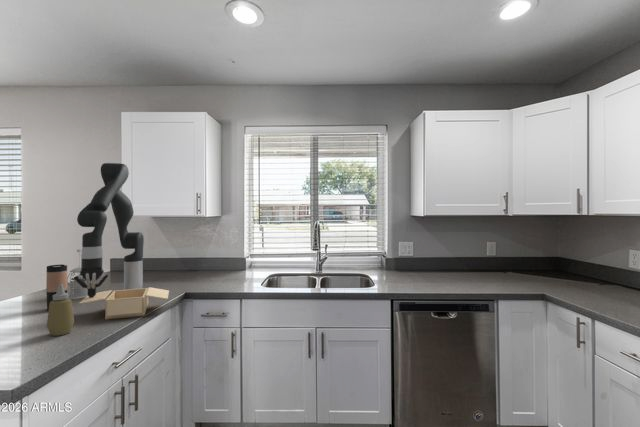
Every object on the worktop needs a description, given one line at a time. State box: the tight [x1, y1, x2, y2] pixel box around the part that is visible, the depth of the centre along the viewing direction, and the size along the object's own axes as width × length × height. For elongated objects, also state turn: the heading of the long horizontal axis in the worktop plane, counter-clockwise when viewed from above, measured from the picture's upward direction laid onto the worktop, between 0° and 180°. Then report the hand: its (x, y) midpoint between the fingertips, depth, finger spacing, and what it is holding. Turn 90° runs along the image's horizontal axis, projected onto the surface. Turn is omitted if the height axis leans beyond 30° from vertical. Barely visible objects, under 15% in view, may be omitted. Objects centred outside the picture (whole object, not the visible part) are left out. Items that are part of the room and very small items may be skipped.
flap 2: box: [146, 286, 170, 300], centre depth 157 cm, size 17×1×9 cm
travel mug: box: [46, 264, 68, 312], centre depth 156 cm, size 8×8×20 cm
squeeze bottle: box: [46, 284, 75, 337], centre depth 124 cm, size 8×8×18 cm
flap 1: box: [78, 289, 113, 305], centre depth 147 cm, size 17×1×9 cm
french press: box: [67, 248, 88, 300], centre depth 180 cm, size 10×12×25 cm
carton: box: [104, 287, 149, 320], centre depth 152 cm, size 23×14×8 cm, turn 22°
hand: (91, 296), depth 147 cm, fingers closed
